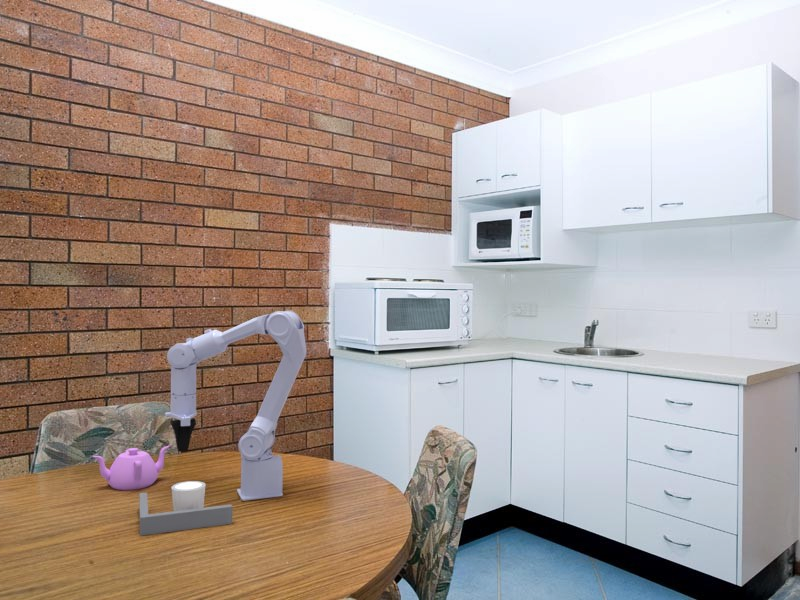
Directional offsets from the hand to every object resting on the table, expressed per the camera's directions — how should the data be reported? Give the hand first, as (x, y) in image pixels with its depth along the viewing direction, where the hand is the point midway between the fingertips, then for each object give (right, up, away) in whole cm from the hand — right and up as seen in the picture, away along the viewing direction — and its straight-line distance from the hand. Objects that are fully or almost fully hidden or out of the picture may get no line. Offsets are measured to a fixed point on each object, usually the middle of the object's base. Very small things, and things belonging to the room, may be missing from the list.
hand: (182, 450), depth 145 cm
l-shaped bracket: (+7, -10, -16) cm, 20 cm away
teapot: (-15, -10, +6) cm, 19 cm away
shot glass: (+7, -10, -17) cm, 21 cm away
